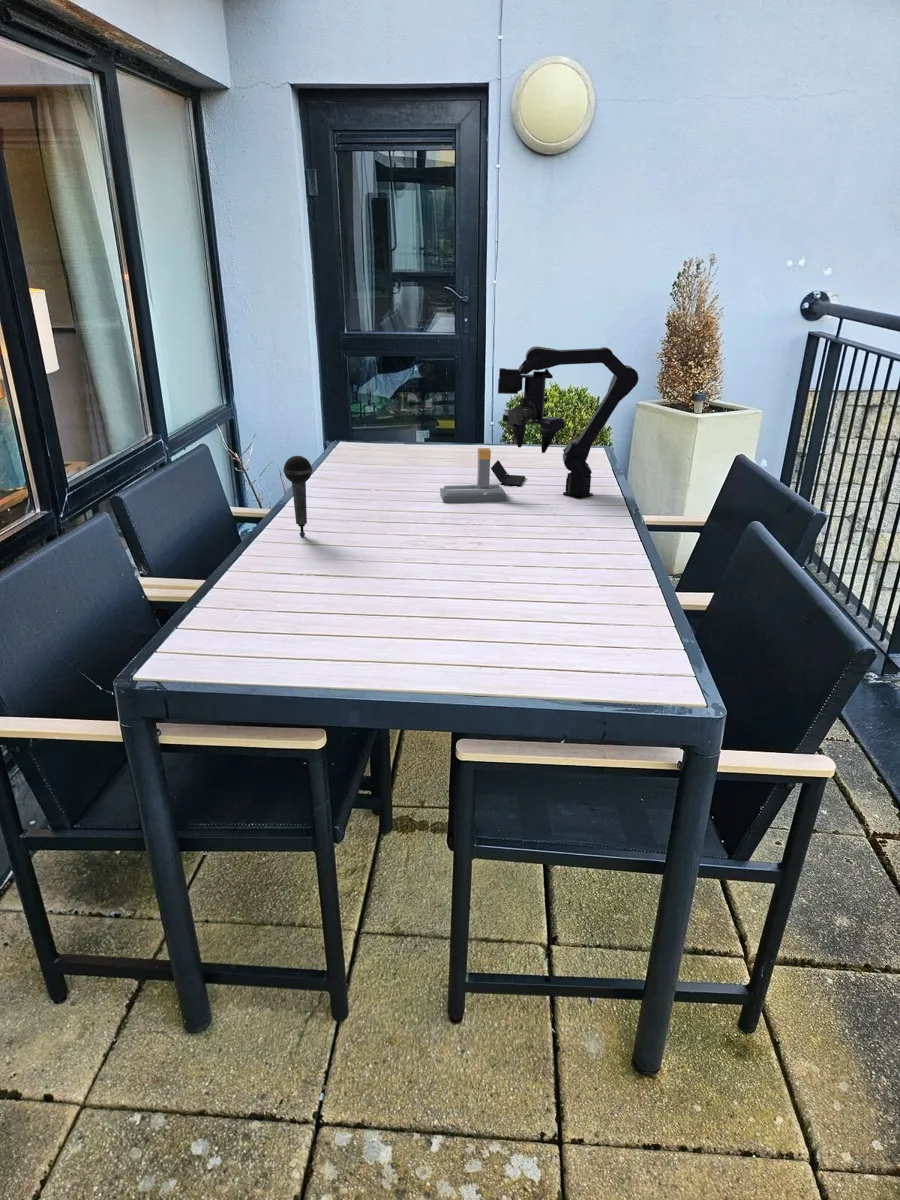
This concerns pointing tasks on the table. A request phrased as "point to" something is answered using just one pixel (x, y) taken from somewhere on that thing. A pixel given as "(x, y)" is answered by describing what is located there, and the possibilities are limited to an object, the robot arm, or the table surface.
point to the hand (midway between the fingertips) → (531, 450)
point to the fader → (483, 469)
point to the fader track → (471, 494)
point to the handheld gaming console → (506, 476)
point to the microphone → (299, 486)
